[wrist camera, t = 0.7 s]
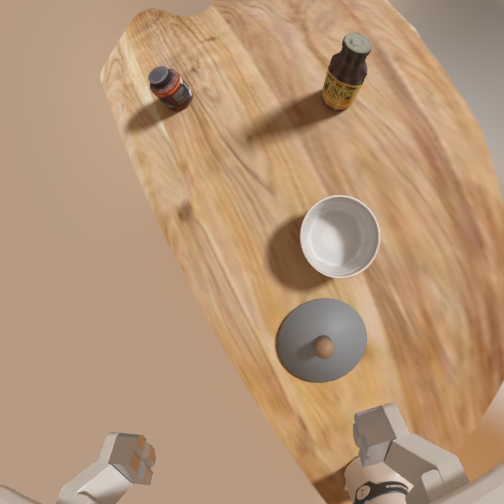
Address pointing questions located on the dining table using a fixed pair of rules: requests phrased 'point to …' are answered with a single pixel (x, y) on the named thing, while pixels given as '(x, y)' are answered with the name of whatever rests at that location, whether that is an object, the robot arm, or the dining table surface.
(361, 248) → the ramekin
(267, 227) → the dining table surface
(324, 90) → the sauce bottle
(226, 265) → the dining table surface
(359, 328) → the lid
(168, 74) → the supplement bottle
